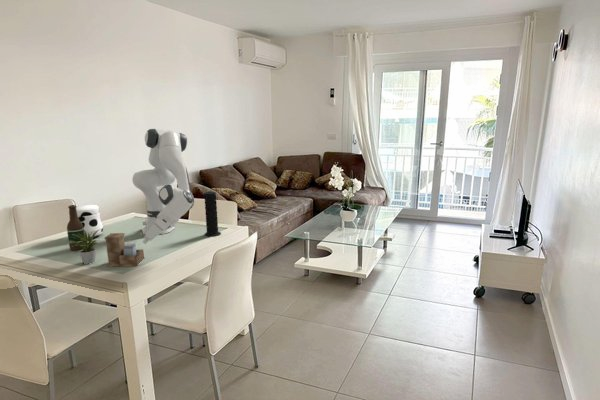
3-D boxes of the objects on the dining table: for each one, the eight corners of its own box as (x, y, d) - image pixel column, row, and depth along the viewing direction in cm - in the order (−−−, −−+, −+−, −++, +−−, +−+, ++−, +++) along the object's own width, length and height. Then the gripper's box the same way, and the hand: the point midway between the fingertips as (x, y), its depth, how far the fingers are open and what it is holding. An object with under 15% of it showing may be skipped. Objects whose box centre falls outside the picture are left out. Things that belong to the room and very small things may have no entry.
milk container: (104, 231, 240) (100, 203, 236) (103, 238, 224) (99, 209, 221) (72, 235, 232) (68, 206, 229) (69, 243, 217) (65, 212, 213)
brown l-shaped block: (144, 258, 191) (141, 231, 188) (137, 266, 181) (134, 237, 178) (115, 259, 190) (112, 232, 187) (106, 266, 180) (102, 238, 178)
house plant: (93, 254, 197) (89, 224, 194) (112, 258, 192) (109, 226, 189) (67, 264, 184) (62, 231, 181) (87, 268, 179) (83, 234, 176)
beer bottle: (89, 247, 210) (84, 204, 205) (77, 251, 202) (71, 207, 198) (78, 245, 212) (73, 203, 207) (66, 250, 205) (60, 206, 200)
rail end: (137, 258, 188) (135, 243, 186) (134, 261, 184) (132, 245, 182) (128, 259, 187) (127, 243, 186) (125, 262, 183) (123, 246, 182)
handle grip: (218, 236, 225) (223, 232, 234) (215, 192, 219) (220, 189, 229) (201, 236, 226) (207, 231, 235) (198, 192, 220) (204, 189, 230)
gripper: (168, 209, 192) (150, 229, 193) (154, 220, 172) (134, 241, 173) (177, 218, 193) (159, 237, 194) (165, 229, 173) (145, 250, 174)
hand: (147, 239), depth 184 cm, fingers open, 8 cm apart
